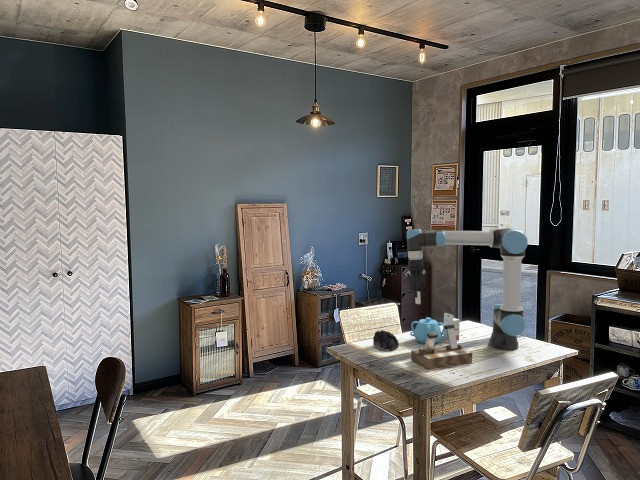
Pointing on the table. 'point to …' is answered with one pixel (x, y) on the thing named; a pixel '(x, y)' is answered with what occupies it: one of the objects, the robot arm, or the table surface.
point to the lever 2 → (451, 336)
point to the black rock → (385, 341)
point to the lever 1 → (430, 342)
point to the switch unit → (441, 357)
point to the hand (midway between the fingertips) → (418, 303)
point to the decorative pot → (427, 330)
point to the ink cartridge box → (454, 322)
